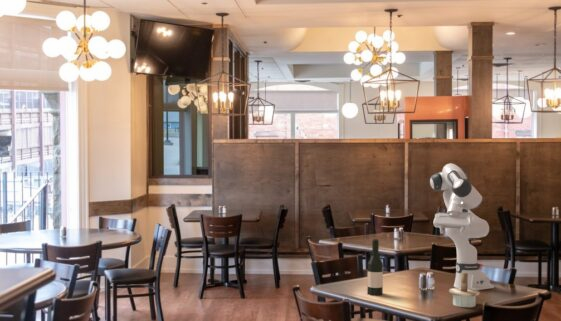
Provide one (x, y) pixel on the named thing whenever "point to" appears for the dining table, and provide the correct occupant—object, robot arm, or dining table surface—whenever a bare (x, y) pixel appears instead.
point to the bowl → (464, 301)
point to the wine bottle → (375, 271)
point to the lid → (464, 288)
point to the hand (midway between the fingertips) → (450, 233)
